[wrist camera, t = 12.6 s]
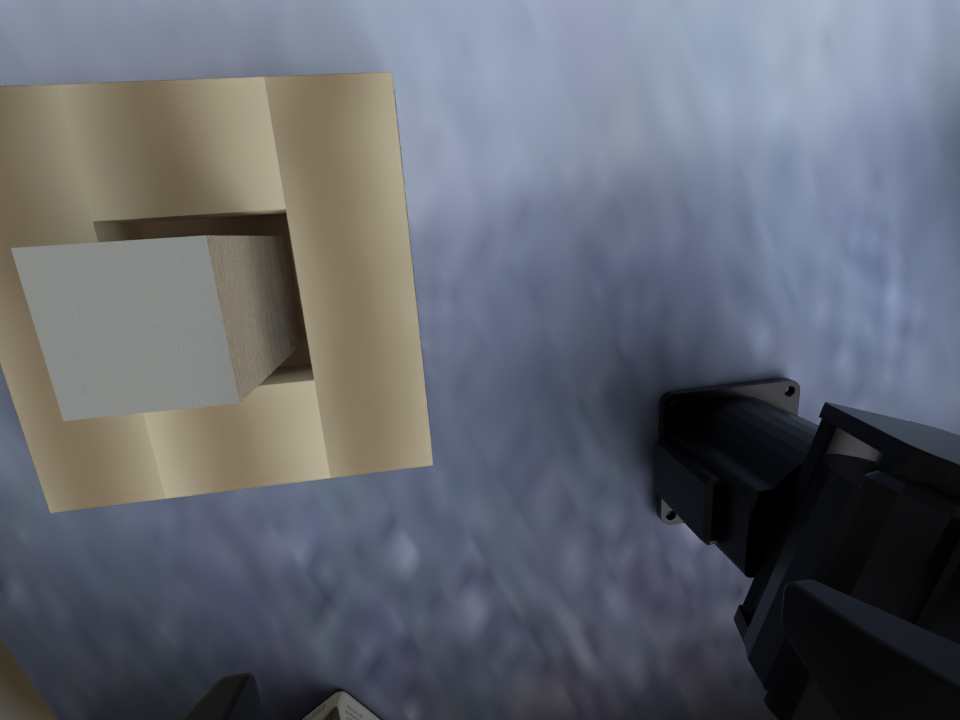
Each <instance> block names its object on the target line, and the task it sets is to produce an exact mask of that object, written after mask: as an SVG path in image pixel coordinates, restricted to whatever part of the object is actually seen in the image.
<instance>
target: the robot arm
mask: <svg viewBox="0 0 960 720" xmlns="http://www.w3.org/2000/svg"><path fill="white" fill-rule="evenodd" d="M787 387H789V388H788V391H787V392H786V393H785V389H786V388H787ZM799 396H800V386H799V384H798V383H797V382H795V381H793V380H790V379H787V378H783V379H774V380H765V381H756V382H748V383H739V384H730V385H721V386H713V387H704V388H695V389H686V390H678V391H670V392H667V393H665V394H664V395H663V396H662V398H661V399H660V408H659V438H658V439H657V441H656V443H655V476H654V490H655V492H656V493H657V515H658V517H659V518H660V519H661V520H662V522H663V523H665V524H667V525H672V524H679V523H685V524H686V525H687V526H688V527H689V528H690V529H691V530H692V531H693V532H694V533H695V534H696V535H697V536H698V537H699V538H700V540H702V541H703V542H704V543H705V544H707V545H711V544H715V545H716V546H717V547H718V548H719V549H720V550H721V551H722V552H723V553H724V554H725V555H726V556H727V557H728V558H729V559H730V560H731V561H732V562H733V563H734V564H735V565H736V566H737V567H738V568H739V569H740V570H741V571H742V572H743V573H744V574H745V575H746V576H747V577H749V578H753V577H754V580H753V582H752V584H751V587H750V589H749V591H748V594H747V596H746V598H745V601H744V603H743V605H739V606H738V609H737V611H736V613H735V616H734V621H735V623H736V626H737V628H738V630H739V633H740V635H741V637H742V639H743V642H744V644H745V647H746V652H747V658H748V660H749V662H750V663H751V665H752V667H753V669H754V670H755V672H756V674H757V676H758V677H759V679H760V681H761V683H762V685H763V687H764V690H765V693H764V696H763V699H764V702H765V704H766V705H767V707H768V709H769V711H770V712H771V713H772V715H773V716H774V717H775V718H776V719H777V720H960V436H959V435H956V434H953V433H950V432H947V431H944V430H941V429H938V428H934V427H931V426H927V425H922V424H918V423H914V422H910V421H905V420H901V419H897V418H893V417H888V416H884V415H880V414H875V413H871V412H867V411H863V410H858V409H854V408H850V407H845V406H841V405H837V404H833V403H828V402H825V403H824V406H823V408H822V411H821V413H820V415H819V417H820V418H822V420H821V422H820V425H819V426H818V425H816V424H814V423H812V422H810V421H807V420H805V419H803V418H801V417H799V416H797V415H798V405H799ZM674 399H675V400H676V402H675V405H674V406H672V407H670V406H669V405H670V402H671V401H672V400H674ZM671 510H672V512H671V513H670V514H669V515H667V516H666V514H667V513H668V512H669V511H671ZM182 720H263V710H262V706H261V701H260V697H259V693H258V689H257V685H256V680H255V677H254V675H253V674H252V673H251V672H248V671H247V672H241V673H235V674H229V675H225V676H224V677H222V678H221V679H220V680H219V681H218V682H217V683H216V684H215V685H214V686H213V687H212V688H211V689H210V690H209V691H208V692H207V693H206V694H205V695H204V697H203V698H202V699H201V700H200V701H199V702H198V703H197V704H196V705H195V706H194V707H193V708H192V709H191V710H190V711H189V713H188V714H187V715H186V716H185V717H184V718H183V719H182Z"/></svg>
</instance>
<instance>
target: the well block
mask: <svg viewBox="0 0 960 720" xmlns="http://www.w3.org/2000/svg"><path fill="white" fill-rule="evenodd" d="M204 235H216V236H285V237H286V243H287V249H288V255H289V261H290V267H291V273H292V280H293V286H294V292H295V298H296V304H297V310H298V316H299V323H300V329H301V335H302V341H303V344H302V345H300V346H299V347H298V348H297V349H296V350H295V351H294V352H293V353H292V354H291V355H290V356H289V357H288V358H287V359H286V360H285V361H284V362H283V363H282V364H280V365H279V366H278V367H277V368H276V369H275V370H274V371H273V372H272V373H271V374H270V375H269V376H268V377H267V378H266V379H265V380H264V381H263V382H262V383H261V384H259V385H258V386H257V387H256V388H255V389H254V390H253V391H252V392H251V393H250V394H249V395H248V396H247V397H246V398H245V399H244V400H243V401H242V402H241V403H237V404H227V405H217V406H207V407H197V408H188V409H178V410H168V411H158V412H148V413H138V414H129V415H119V416H109V417H99V418H89V419H79V420H70V421H63V418H62V415H61V412H60V408H59V405H58V402H57V399H56V395H55V392H54V389H53V385H52V382H51V379H50V376H49V372H48V369H47V366H46V362H45V359H44V356H43V353H42V349H41V346H40V343H39V339H38V336H37V333H36V330H35V326H34V323H33V320H32V316H31V313H30V310H29V307H28V303H27V300H26V297H25V293H24V290H23V287H22V284H21V280H20V277H19V274H18V271H17V267H16V264H15V261H14V257H13V254H12V251H11V248H19V247H34V246H50V245H65V244H81V243H96V242H112V241H127V240H143V239H158V238H174V237H189V236H204ZM0 364H1V367H2V370H3V373H4V376H5V379H6V382H7V385H8V388H9V391H10V394H11V397H12V400H13V403H14V406H15V409H16V412H17V415H18V418H19V421H20V424H21V427H22V430H23V433H24V436H25V439H26V442H27V445H28V448H29V451H30V454H31V456H32V459H33V462H34V465H35V468H36V471H37V474H38V477H39V480H40V483H41V486H42V489H43V492H44V495H45V498H46V501H47V504H48V507H49V510H50V513H55V512H63V511H71V510H79V509H87V508H95V507H103V506H111V505H119V504H127V503H135V502H143V501H151V500H159V499H167V498H175V497H183V496H191V495H199V494H207V493H215V492H223V491H231V490H239V489H247V488H255V487H263V486H271V485H279V484H287V483H295V482H303V481H311V480H319V479H327V478H335V477H343V476H351V475H359V474H367V473H375V472H383V471H391V470H399V469H407V468H415V467H423V466H431V465H433V460H432V448H431V436H430V426H429V416H428V406H427V397H426V387H425V378H424V368H423V359H422V349H421V339H420V330H419V320H418V311H417V301H416V292H415V282H414V272H413V263H412V253H411V244H410V234H409V225H408V215H407V205H406V196H405V186H404V177H403V167H402V158H401V148H400V138H399V129H398V119H397V110H396V100H395V93H394V85H393V78H392V72H382V73H354V74H326V75H299V76H271V77H243V78H216V79H188V80H160V81H132V82H105V83H77V84H49V85H22V86H0Z"/></svg>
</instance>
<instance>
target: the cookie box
mask: <svg viewBox="0 0 960 720" xmlns="http://www.w3.org/2000/svg"><path fill="white" fill-rule="evenodd" d="M302 720H380V719H379V718H378V717H376V716H375V715H374V714H373V713H371V712H370V711H369V710H368V709H366V708H365V707H364V706H362V705H361V704H360V703H359V702H357V701H356V700H355V699H354V698H352V697H351V696H350V695H349V694H347V693H346V692H344V691H340V692H336V693H335V694H334V695H332V696H331V697H330V698H328V699H327V700H326V701H325V702H323V703H322V704H321V705H320V706H318V707H317V708H316V709H315V710H313V711H312V712H311V713H310V714H308V715H307V716H306V717H304V718H303V719H302Z"/></svg>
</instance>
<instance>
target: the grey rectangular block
mask: <svg viewBox="0 0 960 720" xmlns="http://www.w3.org/2000/svg"><path fill="white" fill-rule="evenodd" d="M11 251H12V254H13V257H14V261H15V264H16V267H17V271H18V274H19V277H20V280H21V284H22V287H23V290H24V293H25V297H26V300H27V303H28V307H29V310H30V313H31V316H32V320H33V323H34V326H35V330H36V333H37V336H38V339H39V343H40V346H41V349H42V353H43V356H44V359H45V362H46V366H47V369H48V372H49V376H50V379H51V382H52V385H53V389H54V392H55V395H56V399H57V402H58V405H59V408H60V412H61V415H62V418H63V421H70V420H79V419H89V418H99V417H109V416H119V415H129V414H138V413H148V412H158V411H168V410H178V409H188V408H197V407H207V406H217V405H227V404H237V403H241V402H242V401H243V400H244V399H245V398H246V397H247V396H248V395H249V394H250V393H251V392H252V391H253V390H254V389H255V388H256V387H257V386H258V385H259V384H261V383H262V382H263V381H264V380H265V379H266V378H267V377H268V376H269V375H270V374H271V373H272V372H273V371H274V370H275V369H276V368H277V367H278V366H279V365H280V364H282V363H283V362H284V361H285V360H286V359H287V358H288V357H289V356H290V355H291V354H292V353H293V352H294V351H295V350H296V349H297V348H298V347H299V346H300V345H302V344H303V341H302V335H301V329H300V323H299V316H298V310H297V304H296V298H295V292H294V286H293V280H292V273H291V267H290V261H289V255H288V249H287V243H286V237H285V236H216V235H204V236H189V237H174V238H158V239H143V240H127V241H112V242H96V243H81V244H65V245H50V246H34V247H19V248H11Z"/></svg>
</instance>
